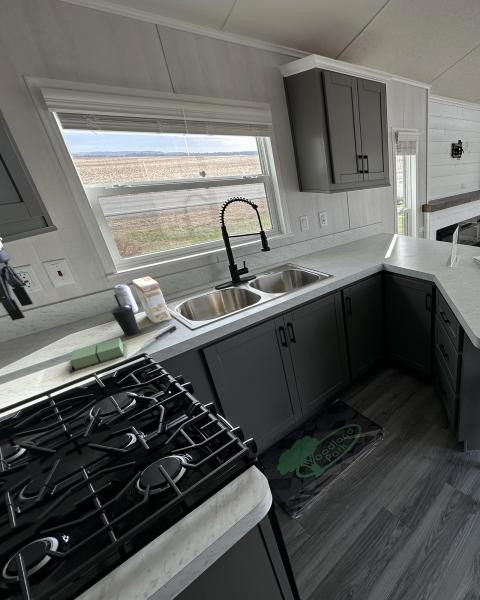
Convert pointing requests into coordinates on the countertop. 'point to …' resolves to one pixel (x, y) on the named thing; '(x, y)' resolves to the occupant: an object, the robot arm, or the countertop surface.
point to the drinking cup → (125, 318)
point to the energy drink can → (125, 296)
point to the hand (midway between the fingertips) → (23, 311)
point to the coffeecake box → (151, 299)
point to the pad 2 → (110, 349)
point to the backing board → (72, 369)
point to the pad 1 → (84, 356)
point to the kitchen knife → (162, 334)
